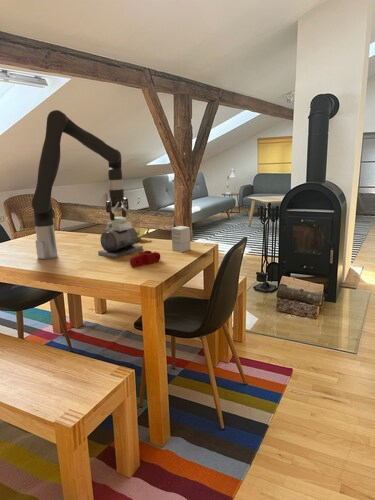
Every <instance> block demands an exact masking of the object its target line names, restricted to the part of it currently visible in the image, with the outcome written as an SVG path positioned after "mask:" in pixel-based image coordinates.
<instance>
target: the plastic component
mask: <svg viewBox="0 0 375 500" xmlns="http://www.w3.org/2000/svg"><path fill="white" fill-rule="evenodd" d="M136 232H137V236H138V239H137V242H138V241H139V240H140V241H141V240H142V238H143V237H144V236H145V234H146V233H145V232H146V231H145V228H144V227H142V229H141V230H140V229H137V230H136Z"/></svg>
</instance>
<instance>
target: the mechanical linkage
mask: <svg viewBox="0 0 375 500" xmlns="http://www.w3.org/2000/svg"><path fill="white" fill-rule="evenodd" d="M160 261H161V254H160V252H156V251H155V252H152V251H151V250H144V251H141V252H138V254H136V255H133V256H131V257H130V259H129V265H130V266H131V267H133V268H138V267H141V266H143V265H149V266H150V265H153V264H156V263H158V262H160Z"/></svg>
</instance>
